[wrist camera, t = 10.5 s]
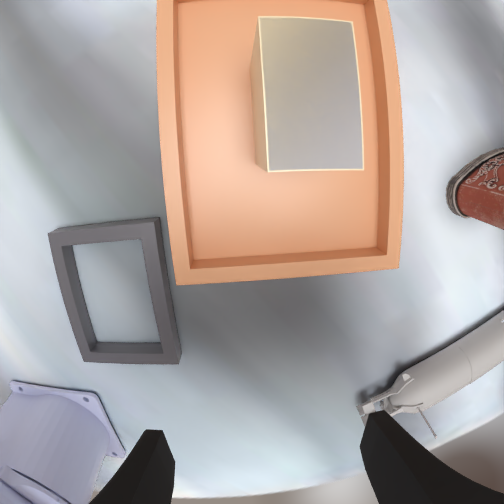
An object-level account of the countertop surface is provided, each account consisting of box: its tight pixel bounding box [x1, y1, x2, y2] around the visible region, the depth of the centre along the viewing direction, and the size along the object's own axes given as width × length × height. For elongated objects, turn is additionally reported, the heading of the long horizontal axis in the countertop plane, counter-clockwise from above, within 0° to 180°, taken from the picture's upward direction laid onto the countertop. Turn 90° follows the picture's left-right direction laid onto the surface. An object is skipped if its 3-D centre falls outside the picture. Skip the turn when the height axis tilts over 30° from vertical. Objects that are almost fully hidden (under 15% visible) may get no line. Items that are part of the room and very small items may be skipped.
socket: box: [48, 217, 182, 364], centre depth 17 cm, size 7×9×1 cm
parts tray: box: [156, 0, 404, 285], centre depth 14 cm, size 12×16×2 cm
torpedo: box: [356, 310, 504, 439], centre depth 18 cm, size 18×5×6 cm, turn 114°
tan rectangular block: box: [250, 16, 364, 172], centre depth 12 cm, size 3×5×6 cm, turn 3°
